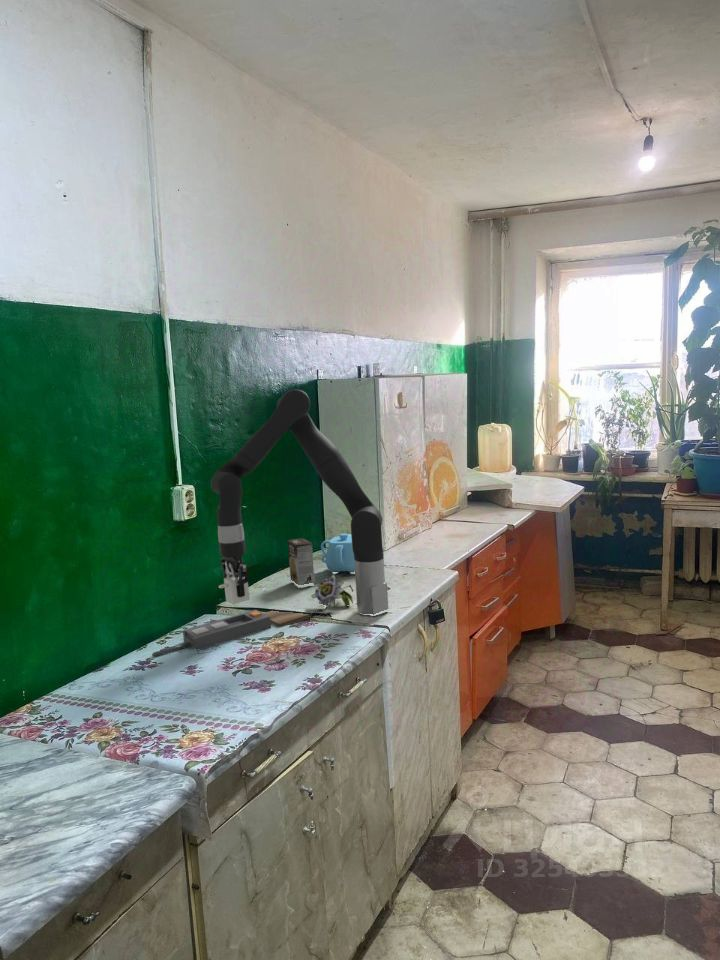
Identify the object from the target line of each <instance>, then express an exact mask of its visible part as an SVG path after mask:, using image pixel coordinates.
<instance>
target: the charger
mask: <svg viewBox="0 0 720 960" xmlns="http://www.w3.org/2000/svg"><path fill="white" fill-rule="evenodd" d="M244 579H245V577H244ZM238 580H239V577H238ZM218 588H219V589H223V588H224V594H225V601H226V602H228V603H229V604H231V605H236V604H240V603H243V602H247V601H250V590H249V581H248V582H247V583H245V584H244V590H245V596H243V597H238V596H237V588H236V581H235V578H233V576H232V577H228V578H224V577H223V583H221V584H220V585H218Z"/></svg>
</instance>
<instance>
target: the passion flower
mask: <svg viewBox="0 0 720 960" xmlns="http://www.w3.org/2000/svg"><path fill="white" fill-rule="evenodd" d="M344 584H345V581H344V580H340V581H337V582H336V574H331V575H330V577H328V578H326V579H323V580H322V579H321V580H320V581H319V583H318V585H317V587H318V588H317V589H315V591H314V593H313V594H312V595H311V596H310V597H311V598H312V599H315V598H316V599H317V600H318V605H319V604H323V605H326V606H327V605H328V606H330V607H332V608H334V606H335V605H336V600H337V599H338V600H339V599H341V600H342V601H343V603H344V605H345V606H347V605H349V606H350V602H351V604H354V602H353V601H354V600H353V596H352V595H351V594H350V593H349V592H348V591H346V590H345V589H347V588H348V587H349V588H350V591H351V592H354V589H353V587H352V585H351V584H350V585H349V584H348V585H347V586H345V587H342V586H343V585H344ZM323 605H322V606H323Z"/></svg>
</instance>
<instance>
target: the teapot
mask: <svg viewBox="0 0 720 960" xmlns="http://www.w3.org/2000/svg"><path fill="white" fill-rule="evenodd" d="M325 544H328V546H327V550H325V546H324V545H325ZM320 549H321V552H322V554H323V555H322V557H321V561H322V563H324V564H326V567H327V569H328V570H329V571H330V572H332V571H333V572H338V571H339V572H348V573H349V572H354V571H355V564H354V553H353V549H352V537H351V533H340V534H339V536H335V537H333V538H331V539H330V540H329V539H326V540H324V541H323V542H321V545H320Z"/></svg>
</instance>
